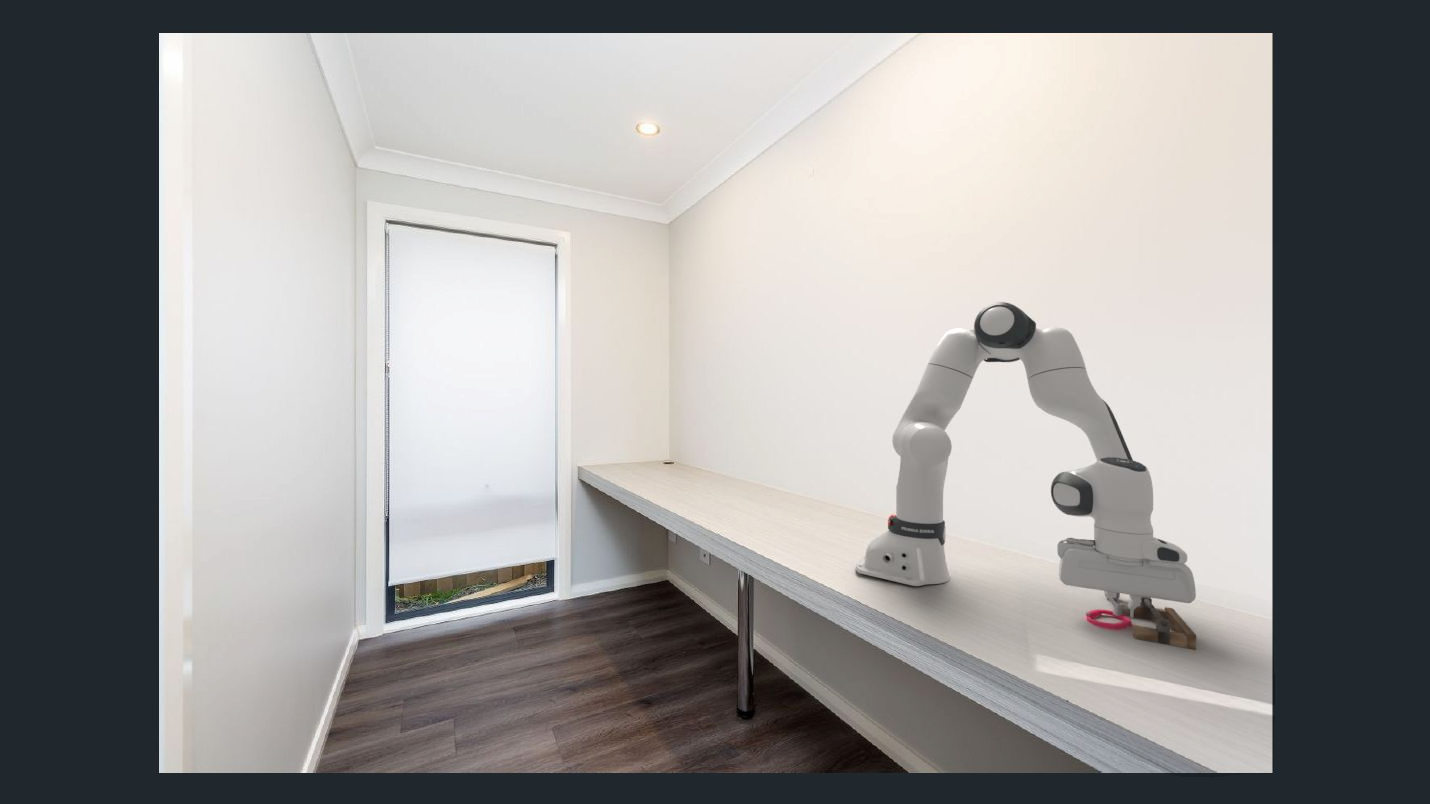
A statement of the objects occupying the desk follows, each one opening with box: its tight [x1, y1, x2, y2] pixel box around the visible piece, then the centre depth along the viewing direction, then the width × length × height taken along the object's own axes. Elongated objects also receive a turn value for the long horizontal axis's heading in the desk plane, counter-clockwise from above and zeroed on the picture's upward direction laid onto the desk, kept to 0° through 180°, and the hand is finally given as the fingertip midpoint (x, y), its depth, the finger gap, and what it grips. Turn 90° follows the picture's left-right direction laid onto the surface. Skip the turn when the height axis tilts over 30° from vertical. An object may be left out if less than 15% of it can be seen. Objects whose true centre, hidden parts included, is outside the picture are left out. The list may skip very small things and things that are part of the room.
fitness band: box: [1085, 609, 1132, 631], centre depth 97 cm, size 8×6×2 cm
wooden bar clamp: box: [1118, 596, 1197, 651], centre depth 93 cm, size 8×13×4 cm, turn 151°
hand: (1122, 615), depth 96 cm, fingers closed
